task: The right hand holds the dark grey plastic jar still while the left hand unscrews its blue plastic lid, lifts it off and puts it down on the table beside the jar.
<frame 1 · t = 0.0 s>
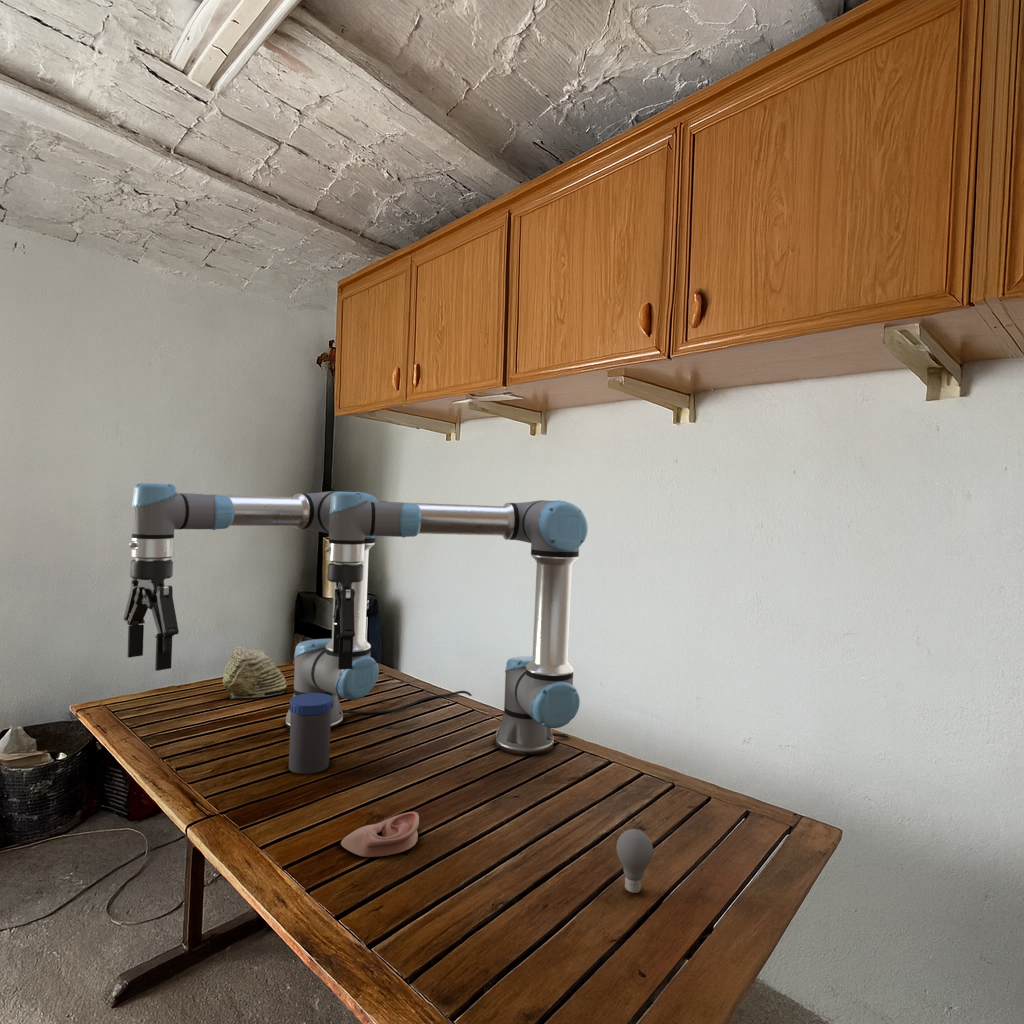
left hand: (148, 662, 129), 28 cm above the table, tool pointing down, fingers open, 13 cm apart
right hand: (342, 660, 137), 28 cm above the table, tool pointing down, fingers open, 13 cm apart
lid: (311, 700, 148), point 15 cm above the table, screwed on, not yet turned
anatomical model: (380, 842, 117), on the table
jar: (309, 765, 149), on the table
fossil: (254, 694, 198), on the table
light bulb: (632, 891, 106), on the table
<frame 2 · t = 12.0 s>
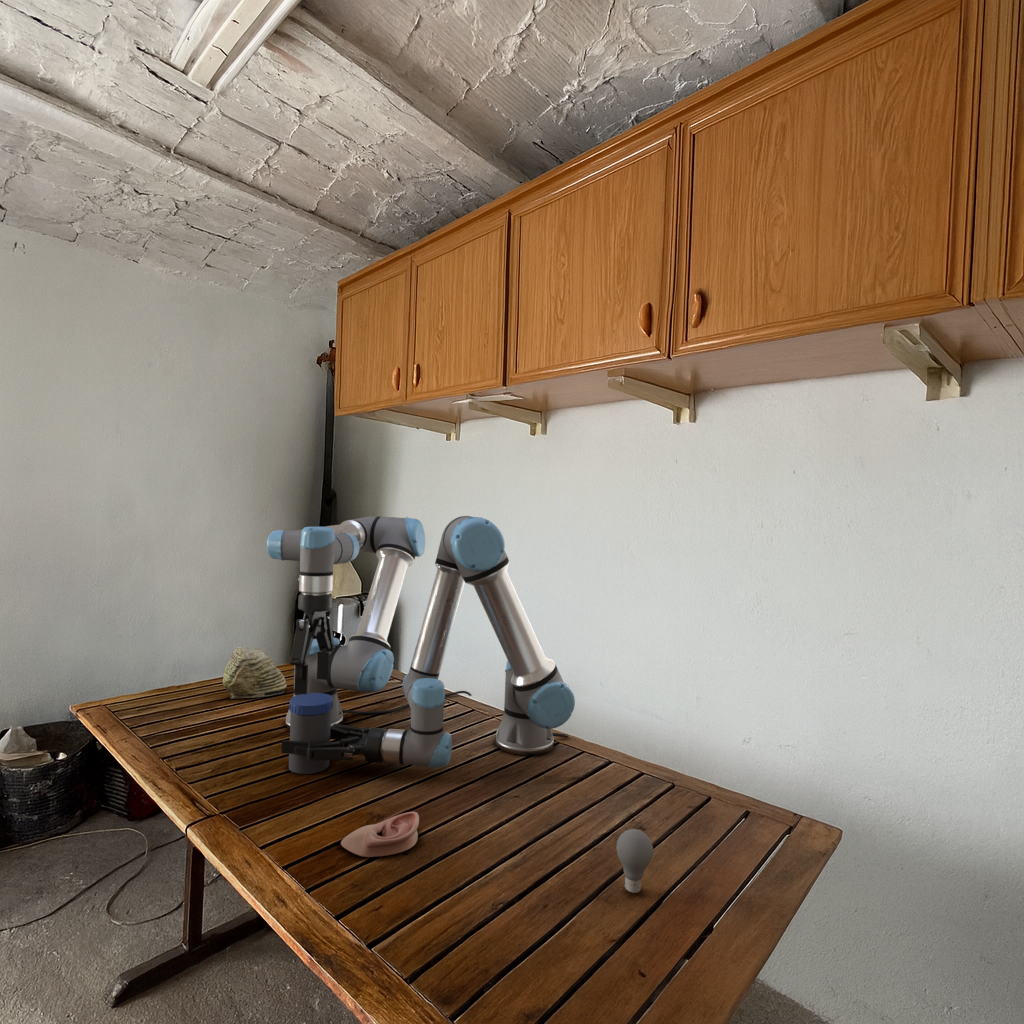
left hand: (312, 686, 148), 19 cm above the table, tool pointing down, fingers open, 11 cm apart
right hand: (291, 738, 149), 6 cm above the table, tool horizontal, fingers closed on jar, 9 cm apart
jar: (309, 765, 149), on the table, touching right hand
everything else where it was.
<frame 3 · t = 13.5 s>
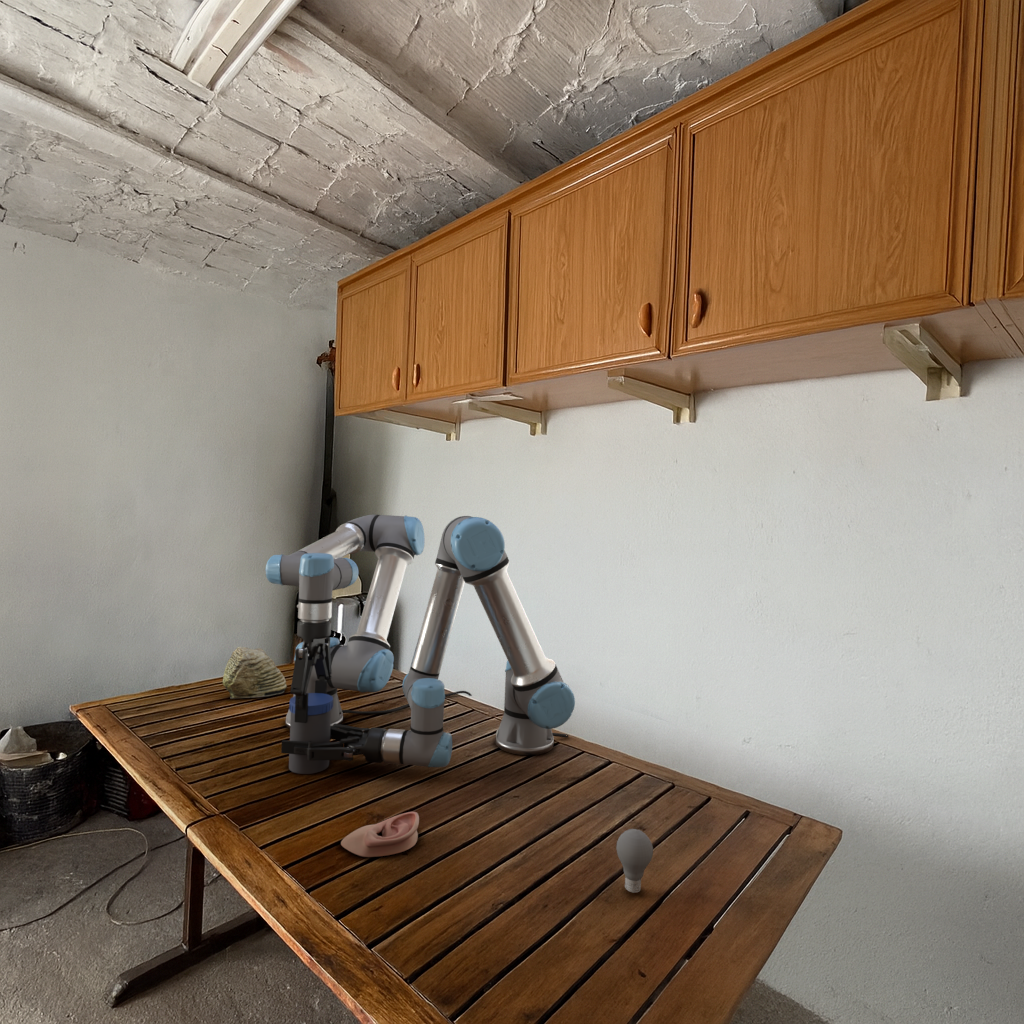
left hand: (310, 714, 148), 12 cm above the table, tool pointing down, fingers closed on lid, 10 cm apart
right hand: (291, 738, 149), 6 cm above the table, tool horizontal, fingers closed on jar, 9 cm apart
lid: (311, 700, 148), point 15 cm above the table, screwed on, not yet turned, touching left hand
jar: (309, 765, 149), on the table, touching right hand
everything else where it was.
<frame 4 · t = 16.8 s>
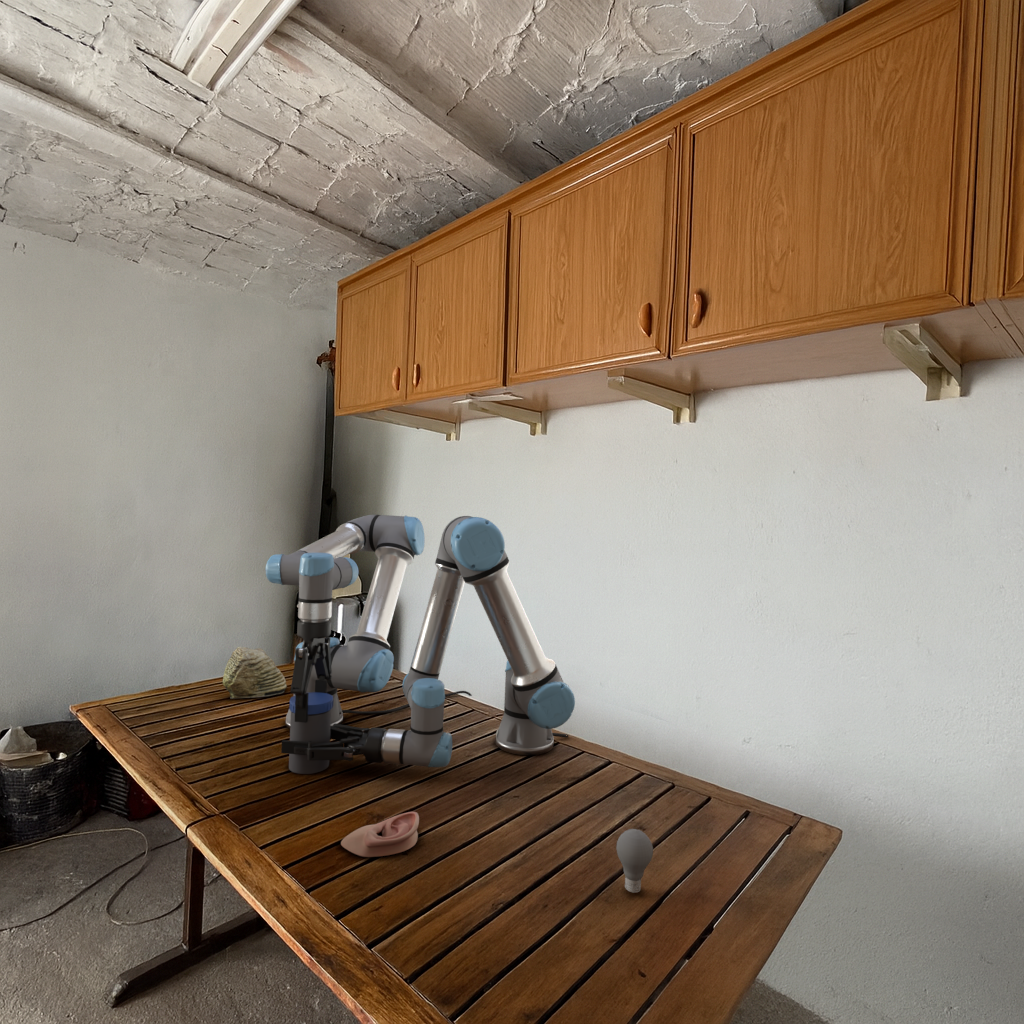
left hand: (311, 714, 148), 12 cm above the table, tool pointing down, fingers closed on lid, 10 cm apart
right hand: (291, 738, 149), 6 cm above the table, tool horizontal, fingers closed on jar, 9 cm apart
lid: (311, 700, 148), point 16 cm above the table, turned 94° so far, risen 0.1 cm, still on its thread, touching left hand
jar: (309, 765, 149), on the table, touching right hand
everything else where it was.
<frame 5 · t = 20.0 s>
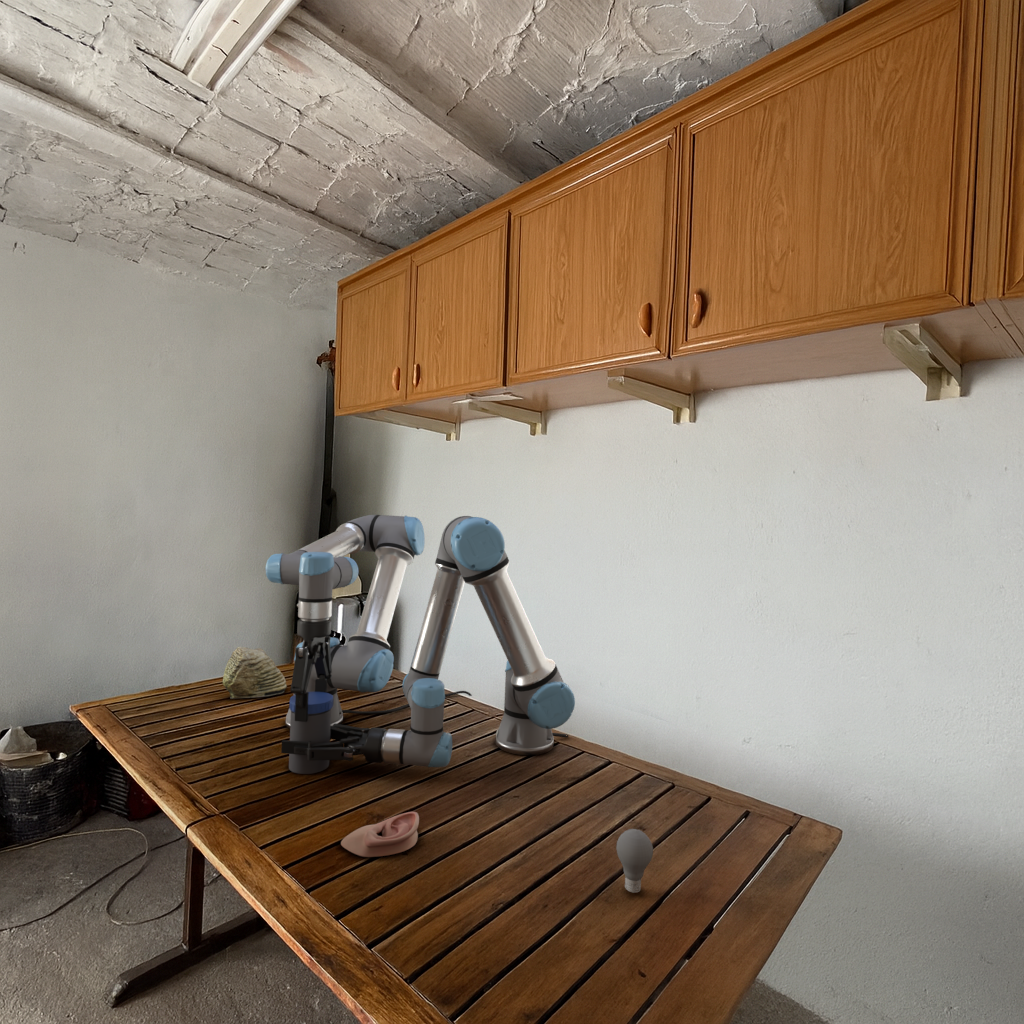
left hand: (311, 713, 148), 12 cm above the table, tool pointing down, fingers closed on lid, 10 cm apart
right hand: (291, 738, 149), 6 cm above the table, tool horizontal, fingers closed on jar, 9 cm apart
lid: (311, 699, 148), point 16 cm above the table, turned 188° so far, risen 0.3 cm, still on its thread, touching left hand
jar: (309, 765, 149), on the table, touching right hand
everything else where it was.
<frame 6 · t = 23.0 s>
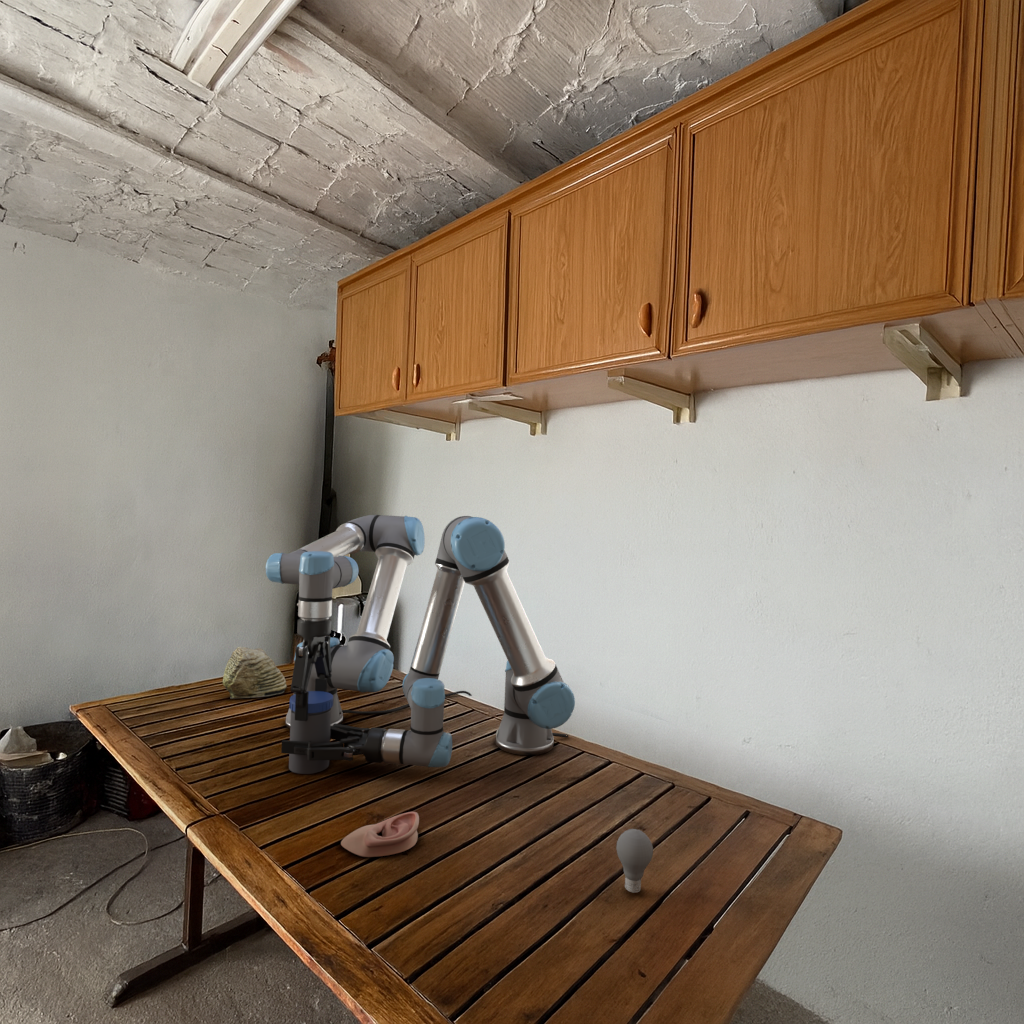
left hand: (311, 712, 148), 13 cm above the table, tool pointing down, fingers closed on lid, 10 cm apart
right hand: (291, 738, 149), 6 cm above the table, tool horizontal, fingers closed on jar, 9 cm apart
lid: (311, 698, 148), point 16 cm above the table, turned 283° so far, risen 0.5 cm, still on its thread, touching left hand
jar: (309, 765, 149), on the table, touching right hand
everything else where it was.
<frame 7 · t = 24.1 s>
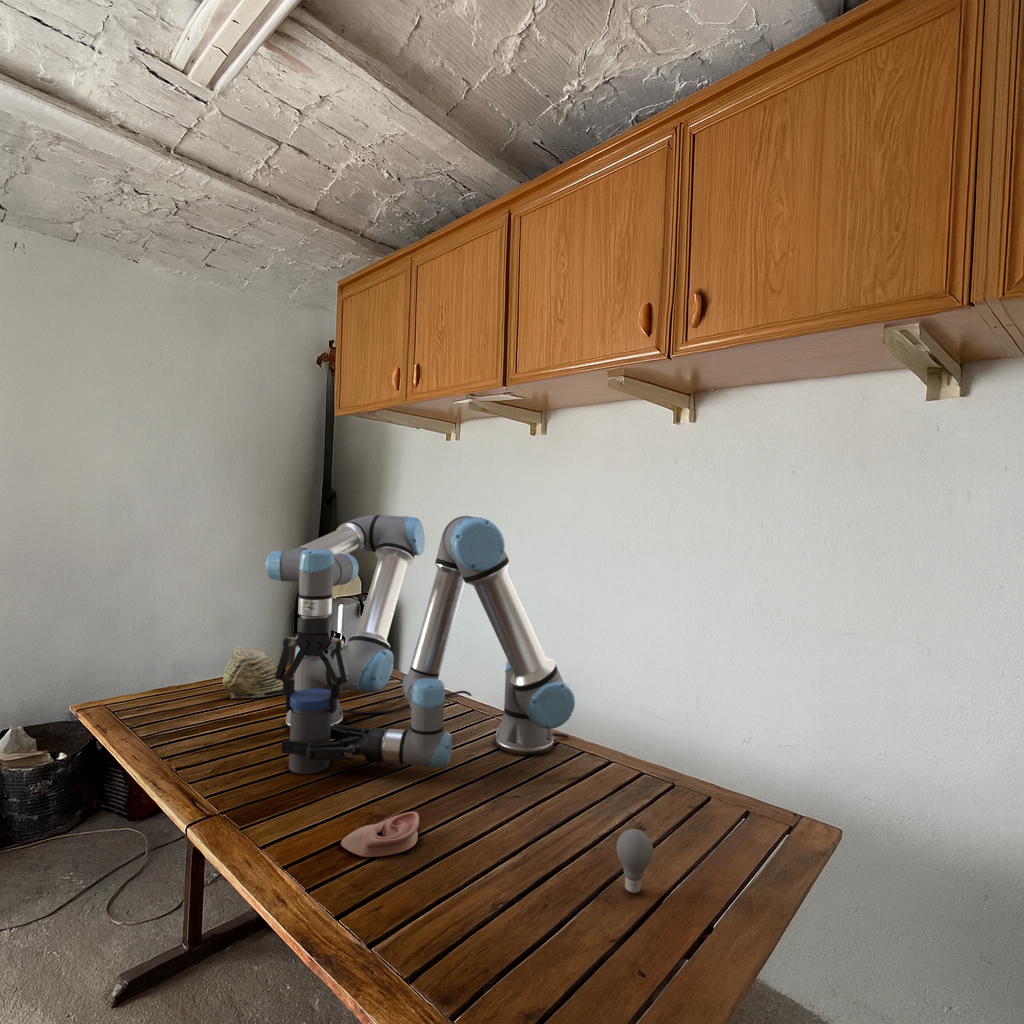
left hand: (311, 710, 149), 13 cm above the table, tool pointing down, fingers closed on lid, 10 cm apart
right hand: (291, 738, 149), 6 cm above the table, tool horizontal, fingers closed on jar, 9 cm apart
lid: (312, 696, 148), point 16 cm above the table, off its thread, touching left hand
jar: (309, 765, 149), on the table, touching right hand
everything else where it was.
when the left hand's fingers open (0 cm above the table, at t = 29.8 s): lid drops 2 cm, point 2 cm above the table.
when the right hand's fingers open (6 cm above the table, at t = 30.8 s): jar stays where it is, on the table.
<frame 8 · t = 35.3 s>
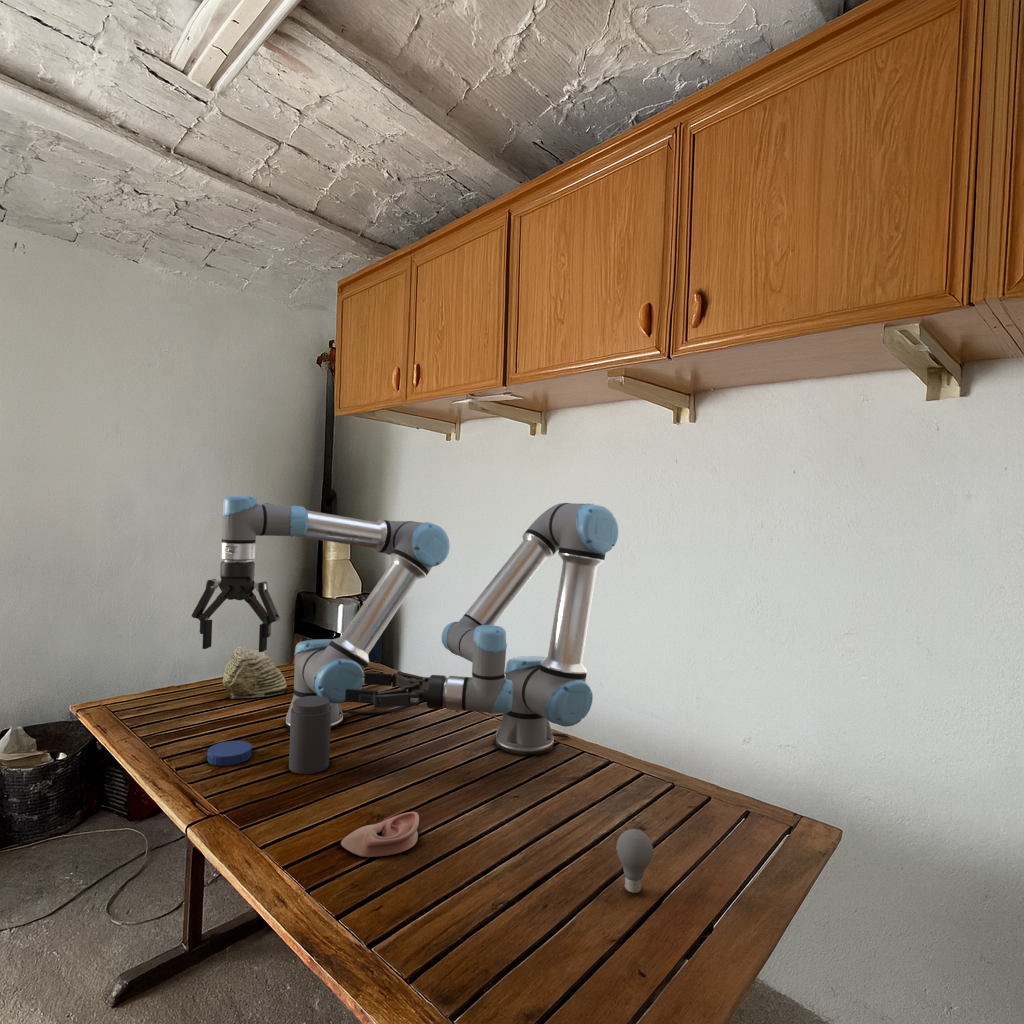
left hand: (234, 649, 151), 26 cm above the table, tool pointing down, fingers open, 13 cm apart
right hand: (355, 686, 147), 20 cm above the table, tool horizontal, fingers open, 13 cm apart
lid: (229, 749, 151), point 2 cm above the table, off its thread
jar: (309, 765, 149), on the table
everything else where it was.
at the end: lid came off its thread; lid point 1.8 cm above the table; the left hand is holding nothing; the right hand is holding nothing; jar tilted 0°; jar moved 0.0 cm from its start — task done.
